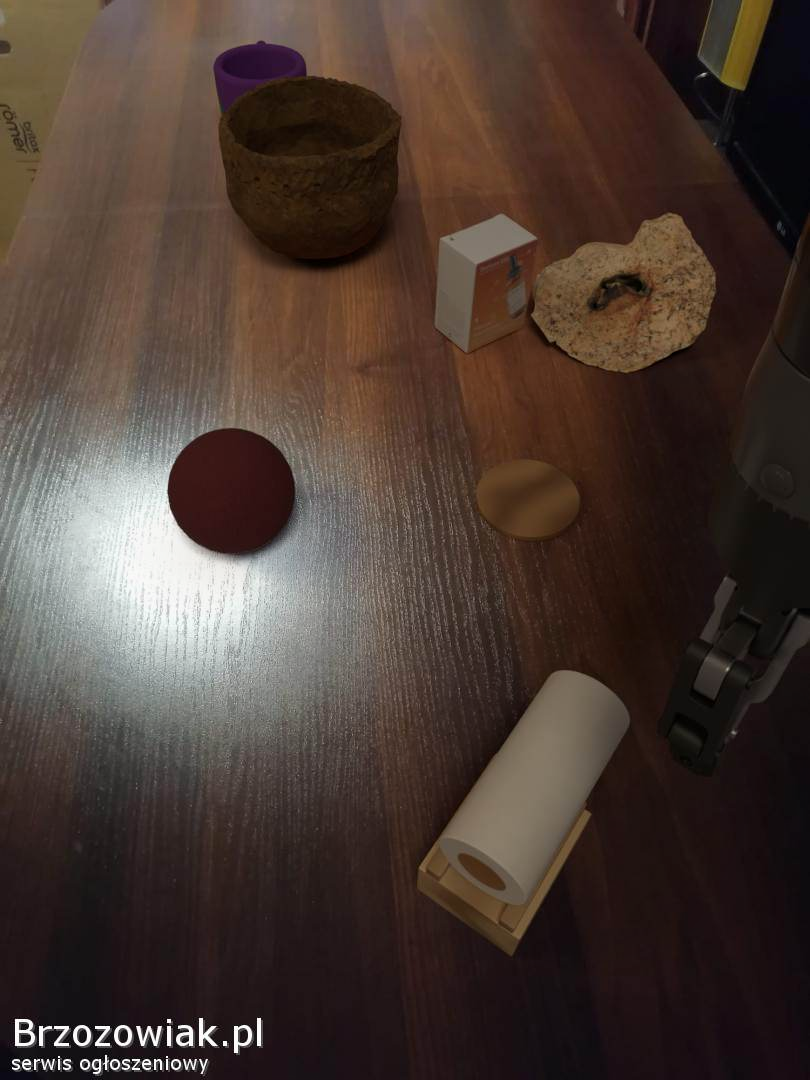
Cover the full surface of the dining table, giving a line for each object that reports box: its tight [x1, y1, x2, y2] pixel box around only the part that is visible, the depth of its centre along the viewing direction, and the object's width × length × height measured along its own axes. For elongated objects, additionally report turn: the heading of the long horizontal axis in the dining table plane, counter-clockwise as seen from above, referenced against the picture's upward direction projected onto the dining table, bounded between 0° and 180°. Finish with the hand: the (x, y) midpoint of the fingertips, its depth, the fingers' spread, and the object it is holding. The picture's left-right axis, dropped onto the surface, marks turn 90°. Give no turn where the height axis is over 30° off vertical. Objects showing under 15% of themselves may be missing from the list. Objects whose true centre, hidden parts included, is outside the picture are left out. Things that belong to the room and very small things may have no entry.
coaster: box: [475, 458, 581, 542], centre depth 75 cm, size 9×9×1 cm
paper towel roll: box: [439, 669, 631, 906], centre depth 52 cm, size 6×13×6 cm, turn 145°
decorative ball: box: [166, 427, 296, 555], centre depth 68 cm, size 10×10×10 cm
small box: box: [434, 213, 539, 354], centre depth 86 cm, size 8×6×10 cm
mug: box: [212, 40, 308, 116], centre depth 111 cm, size 17×11×10 cm, turn 5°
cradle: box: [416, 753, 592, 957], centre depth 54 cm, size 7×9×5 cm
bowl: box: [217, 75, 403, 260], centre depth 93 cm, size 19×19×15 cm
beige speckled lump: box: [530, 212, 717, 374], centre depth 89 cm, size 18×14×8 cm
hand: (733, 701), depth 43 cm, fingers open, 8 cm apart
